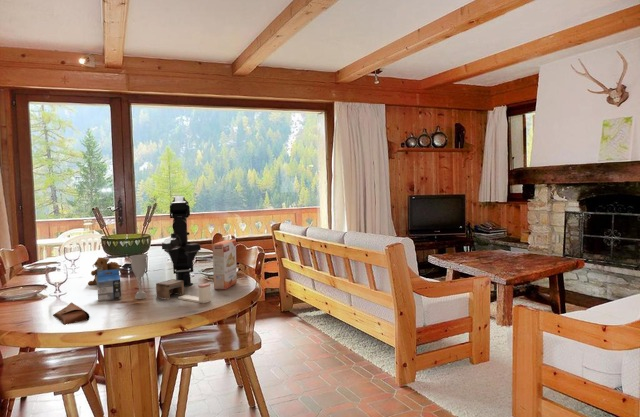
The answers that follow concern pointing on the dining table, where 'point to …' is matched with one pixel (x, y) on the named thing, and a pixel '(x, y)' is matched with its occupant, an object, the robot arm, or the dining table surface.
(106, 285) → the label tape cartridge
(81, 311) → the sunglasses case
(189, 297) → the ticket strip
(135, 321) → the dining table surface
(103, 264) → the stuffed squirrel
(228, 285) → the cracker box
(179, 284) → the box
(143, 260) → the chalice
